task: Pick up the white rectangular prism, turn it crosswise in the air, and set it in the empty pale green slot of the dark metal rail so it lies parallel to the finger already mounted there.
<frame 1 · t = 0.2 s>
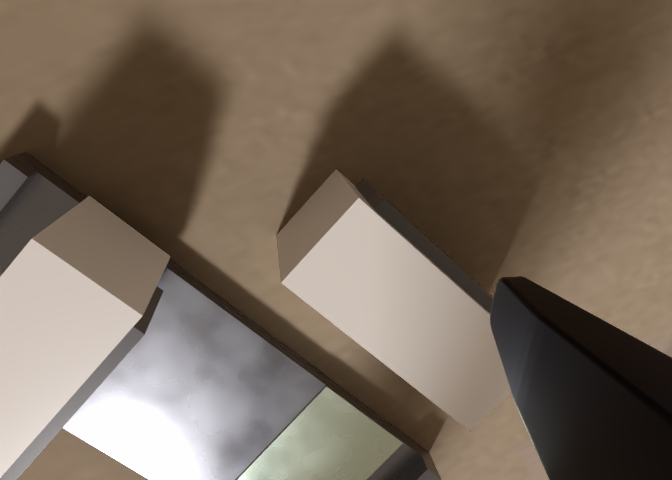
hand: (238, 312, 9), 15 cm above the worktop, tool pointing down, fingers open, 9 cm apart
rail: (193, 389, 27), on the worktop
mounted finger: (65, 304, 24), resting on rail
white rectangular prism: (384, 269, 26), on the worktop
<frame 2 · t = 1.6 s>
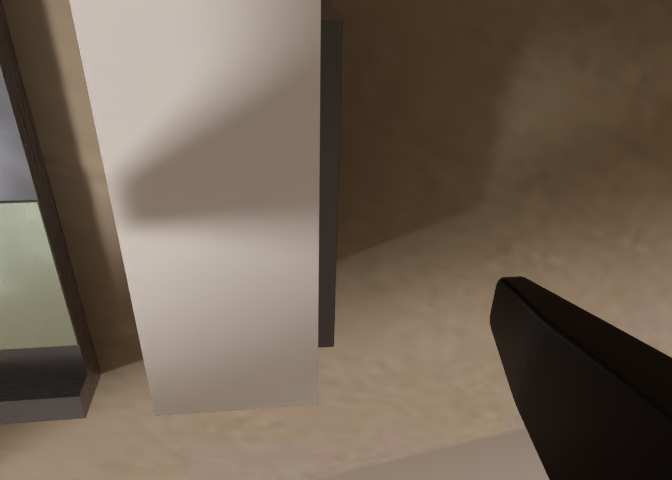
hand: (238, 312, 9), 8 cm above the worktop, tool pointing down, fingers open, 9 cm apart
white rectangular prism: (234, 134, 16), on the worktop
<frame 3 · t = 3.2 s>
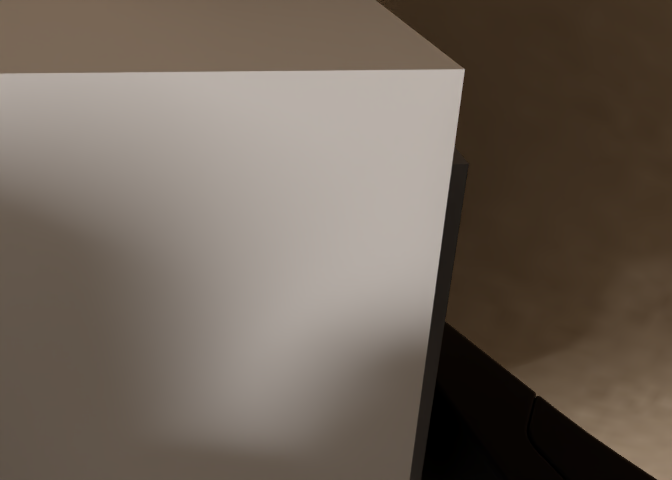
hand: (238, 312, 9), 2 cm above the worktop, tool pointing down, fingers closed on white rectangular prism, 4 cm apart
white rectangular prism: (227, 260, 11), on the worktop, touching gripper
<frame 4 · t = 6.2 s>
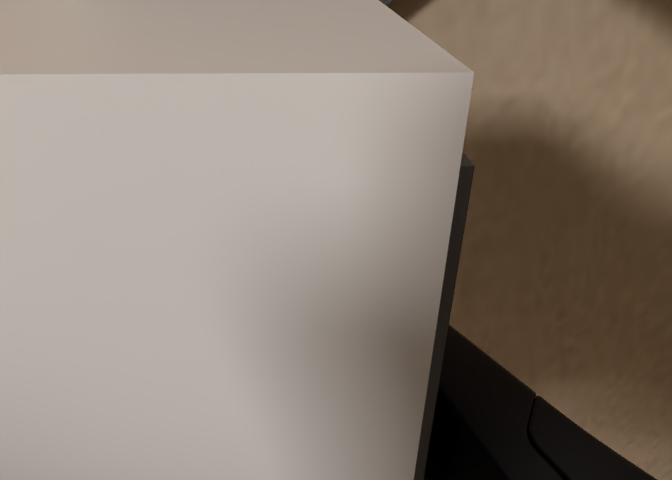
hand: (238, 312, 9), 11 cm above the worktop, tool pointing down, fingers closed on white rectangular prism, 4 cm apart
white rectangular prism: (228, 261, 11), point 10 cm above the worktop, touching gripper
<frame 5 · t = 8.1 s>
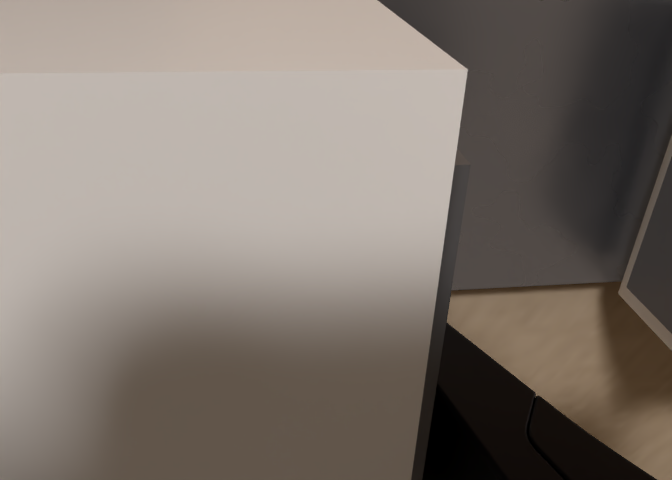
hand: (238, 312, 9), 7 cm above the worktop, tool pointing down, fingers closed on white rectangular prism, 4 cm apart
rail: (487, 145, 16), on the worktop
white rectangular prism: (227, 261, 11), point 6 cm above the worktop, touching gripper
when the fingers open (4 cm above the worktop, at t = 9.5 s): white rectangular prism drops 1 cm, resting on rail.
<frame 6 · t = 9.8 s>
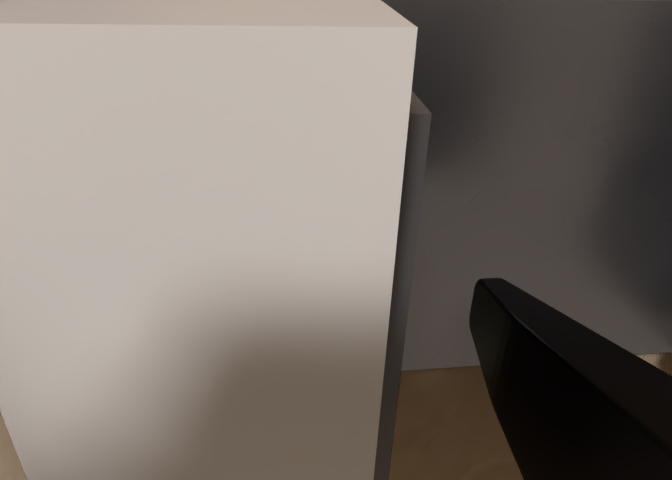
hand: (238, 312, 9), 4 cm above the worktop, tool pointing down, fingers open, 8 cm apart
rail: (537, 195, 13), on the worktop
white rectangular prism: (231, 226, 12), point 1 cm above the worktop, touching rail
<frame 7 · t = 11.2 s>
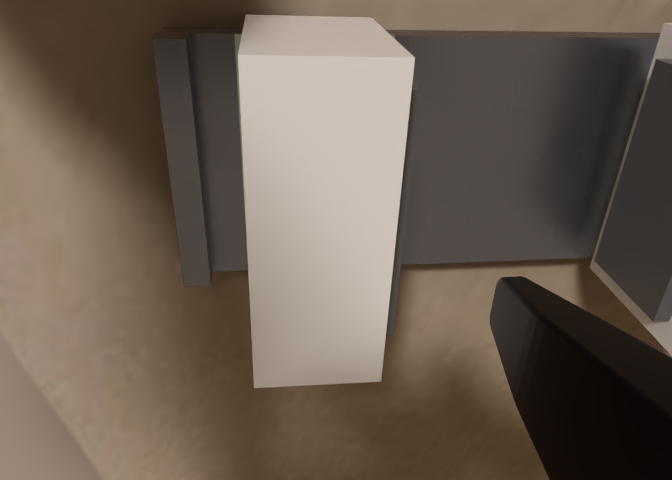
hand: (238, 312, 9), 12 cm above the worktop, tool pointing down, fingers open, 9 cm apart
rail: (489, 151, 22), on the worktop
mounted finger: (654, 149, 23), resting on rail
white rectangular prism: (307, 163, 20), point 1 cm above the worktop, touching rail
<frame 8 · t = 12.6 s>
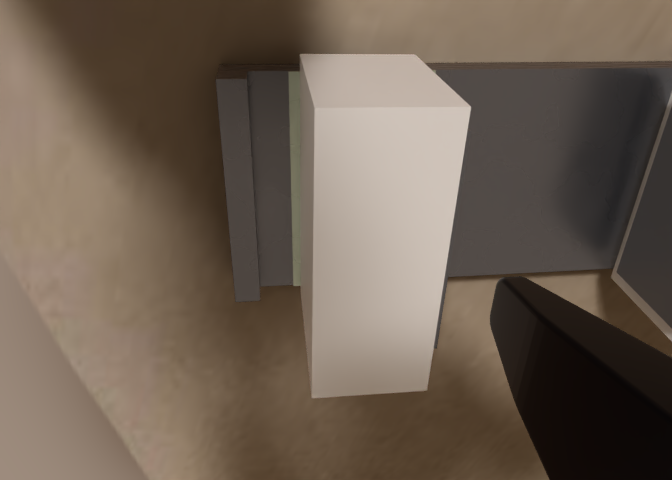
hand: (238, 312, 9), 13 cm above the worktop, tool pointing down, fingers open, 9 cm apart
rail: (518, 171, 23), on the worktop
white rectangular prism: (351, 186, 22), point 1 cm above the worktop, touching rail
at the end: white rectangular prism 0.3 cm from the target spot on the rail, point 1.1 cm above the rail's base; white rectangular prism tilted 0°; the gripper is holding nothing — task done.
